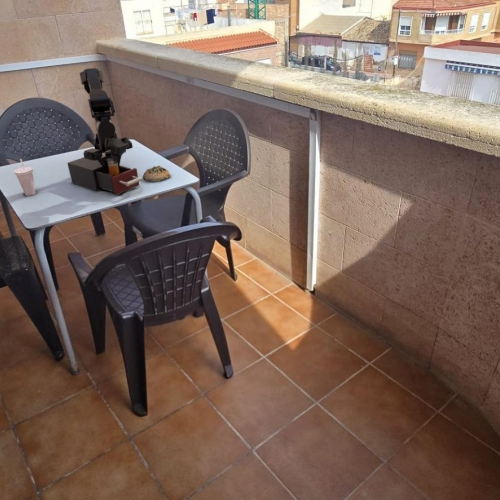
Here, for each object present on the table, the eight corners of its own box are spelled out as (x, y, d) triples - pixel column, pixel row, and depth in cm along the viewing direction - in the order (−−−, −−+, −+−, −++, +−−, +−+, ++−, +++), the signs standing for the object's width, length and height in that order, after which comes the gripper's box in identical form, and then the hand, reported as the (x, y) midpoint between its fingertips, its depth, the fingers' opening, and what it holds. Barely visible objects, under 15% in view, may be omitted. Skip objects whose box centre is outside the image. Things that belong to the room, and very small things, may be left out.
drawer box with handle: (121, 181, 176) (118, 160, 171) (96, 191, 167) (92, 170, 163) (97, 173, 184) (93, 154, 179) (72, 183, 175) (67, 162, 170)
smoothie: (27, 198, 162) (16, 162, 155) (17, 195, 165) (6, 159, 158) (42, 192, 167) (32, 157, 160) (32, 189, 170) (22, 154, 163)
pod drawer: (148, 187, 167) (145, 170, 164) (125, 197, 159) (122, 180, 156) (114, 177, 177) (111, 161, 173) (92, 186, 169) (88, 170, 165)
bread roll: (154, 170, 185) (154, 159, 182) (175, 177, 181) (175, 166, 178) (137, 179, 177) (136, 168, 174) (158, 187, 173) (158, 176, 170)
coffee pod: (114, 170, 169) (112, 160, 167) (122, 172, 167) (120, 162, 165) (104, 174, 166) (102, 164, 164) (112, 176, 164) (110, 166, 162)
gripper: (98, 140, 147) (107, 182, 155) (139, 127, 161) (145, 167, 169) (78, 135, 153) (87, 176, 161) (119, 123, 166) (126, 162, 174)
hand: (112, 171), depth 166 cm, fingers closed on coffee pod, 4 cm apart
